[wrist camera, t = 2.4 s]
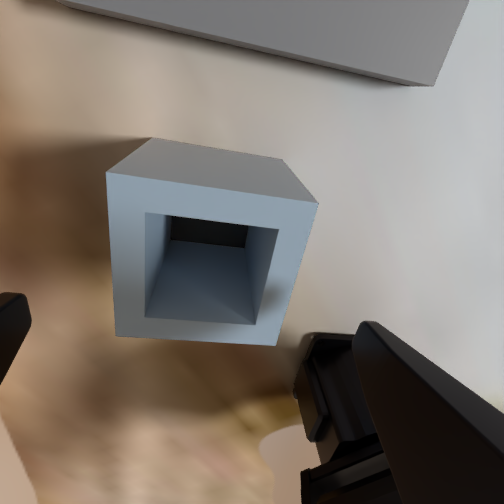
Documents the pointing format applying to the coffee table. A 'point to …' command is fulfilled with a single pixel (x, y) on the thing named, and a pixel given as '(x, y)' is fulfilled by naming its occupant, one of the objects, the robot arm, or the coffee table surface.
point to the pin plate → (313, 30)
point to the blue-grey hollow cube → (204, 255)
